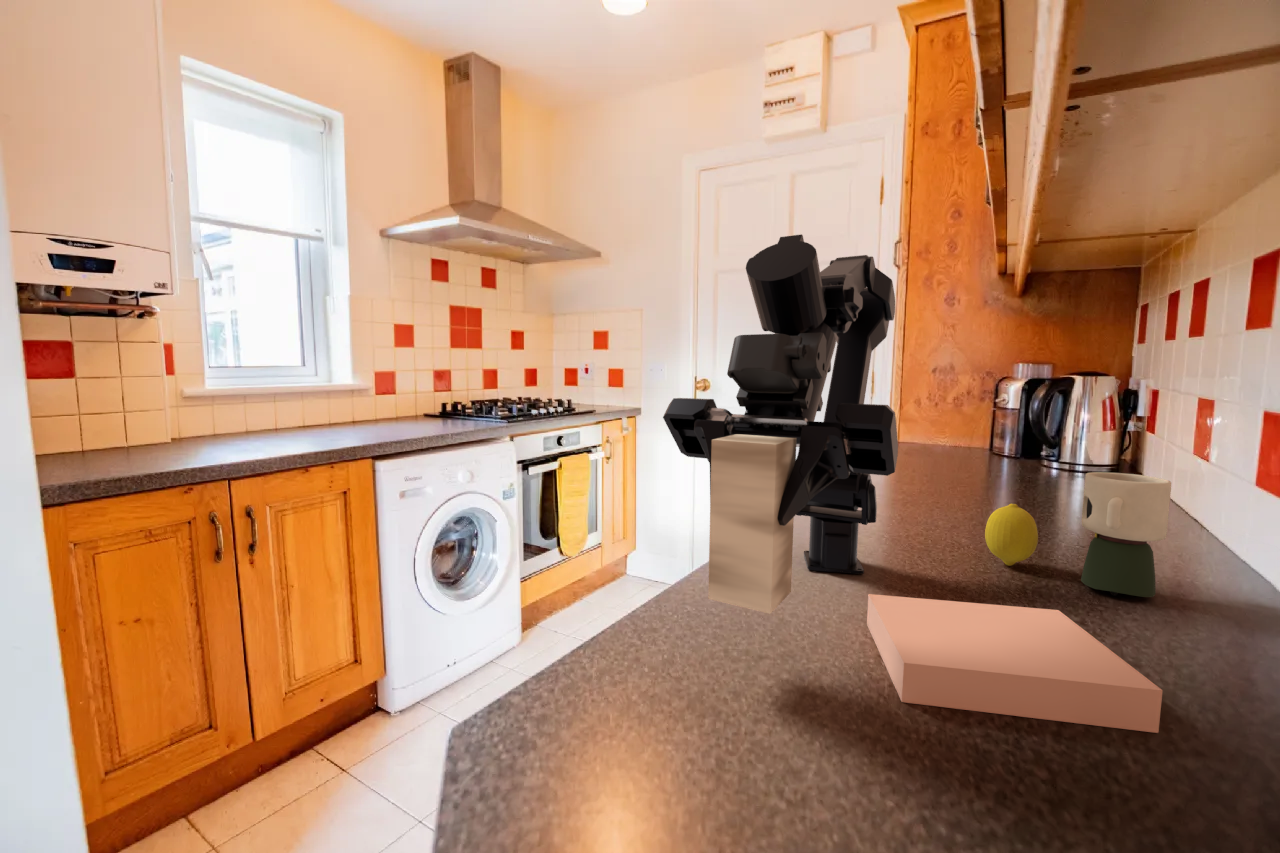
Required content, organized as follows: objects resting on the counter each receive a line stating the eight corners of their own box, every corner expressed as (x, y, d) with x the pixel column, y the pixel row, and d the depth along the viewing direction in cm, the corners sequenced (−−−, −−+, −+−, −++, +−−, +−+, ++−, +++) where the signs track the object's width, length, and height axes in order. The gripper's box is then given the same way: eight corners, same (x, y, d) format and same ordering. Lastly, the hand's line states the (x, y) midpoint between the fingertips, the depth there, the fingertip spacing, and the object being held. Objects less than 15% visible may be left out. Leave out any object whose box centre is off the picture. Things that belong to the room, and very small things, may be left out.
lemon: (973, 561, 72) (977, 500, 71) (1003, 556, 74) (1007, 497, 73) (1015, 575, 67) (1019, 510, 66) (1046, 570, 69) (1051, 506, 68)
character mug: (1089, 572, 68) (1098, 468, 67) (1168, 590, 62) (1180, 476, 61) (1063, 593, 61) (1072, 477, 60) (1149, 616, 56) (1162, 488, 54)
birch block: (733, 579, 47) (736, 434, 46) (791, 591, 45) (796, 438, 44) (708, 599, 43) (711, 439, 42) (770, 614, 40) (776, 444, 39)
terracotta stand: (866, 624, 53) (868, 593, 53) (1055, 642, 50) (1058, 610, 49) (901, 702, 40) (903, 662, 40) (1158, 733, 37) (1162, 690, 37)
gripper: (674, 308, 50) (603, 441, 42) (901, 294, 40) (866, 464, 32) (709, 393, 57) (654, 521, 49) (908, 399, 48) (881, 559, 39)
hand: (746, 517), depth 42 cm, fingers closed on birch block, 5 cm apart
